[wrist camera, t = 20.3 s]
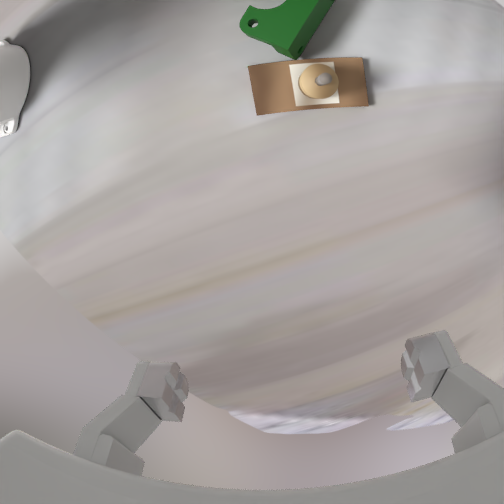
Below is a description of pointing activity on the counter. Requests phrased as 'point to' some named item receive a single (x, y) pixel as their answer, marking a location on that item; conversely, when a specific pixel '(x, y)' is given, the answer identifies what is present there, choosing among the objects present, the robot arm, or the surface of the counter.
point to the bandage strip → (287, 90)
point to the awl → (318, 81)
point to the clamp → (286, 24)
